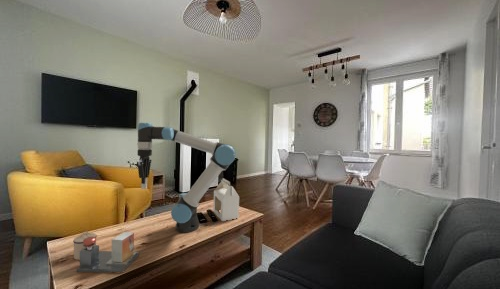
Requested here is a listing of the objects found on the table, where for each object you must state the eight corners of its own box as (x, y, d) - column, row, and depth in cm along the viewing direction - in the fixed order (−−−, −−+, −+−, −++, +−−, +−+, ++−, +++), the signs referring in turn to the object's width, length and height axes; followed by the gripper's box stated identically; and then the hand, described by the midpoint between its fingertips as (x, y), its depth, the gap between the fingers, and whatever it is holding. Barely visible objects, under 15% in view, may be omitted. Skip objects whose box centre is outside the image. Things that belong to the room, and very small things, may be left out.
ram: (98, 258, 96) (98, 236, 96) (90, 264, 92) (90, 241, 92) (88, 258, 96) (88, 236, 96) (80, 264, 92) (80, 241, 91)
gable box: (213, 211, 169) (214, 177, 168) (228, 209, 175) (229, 176, 174) (222, 221, 149) (223, 183, 148) (238, 218, 155) (239, 182, 154)
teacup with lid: (94, 257, 101) (94, 234, 101) (70, 262, 97) (70, 238, 96) (98, 246, 111) (99, 224, 111) (77, 249, 107) (77, 227, 107)
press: (139, 254, 104) (139, 238, 104) (122, 272, 90) (122, 254, 90) (99, 253, 104) (99, 237, 104) (76, 271, 90) (76, 252, 90)
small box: (121, 263, 94) (122, 240, 94) (111, 261, 95) (111, 239, 94) (134, 253, 102) (134, 232, 102) (124, 252, 103) (124, 231, 102)
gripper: (143, 148, 127) (143, 185, 128) (132, 149, 114) (131, 191, 115) (156, 148, 127) (155, 186, 128) (145, 149, 114) (145, 191, 115)
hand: (144, 188), depth 121 cm, fingers closed
